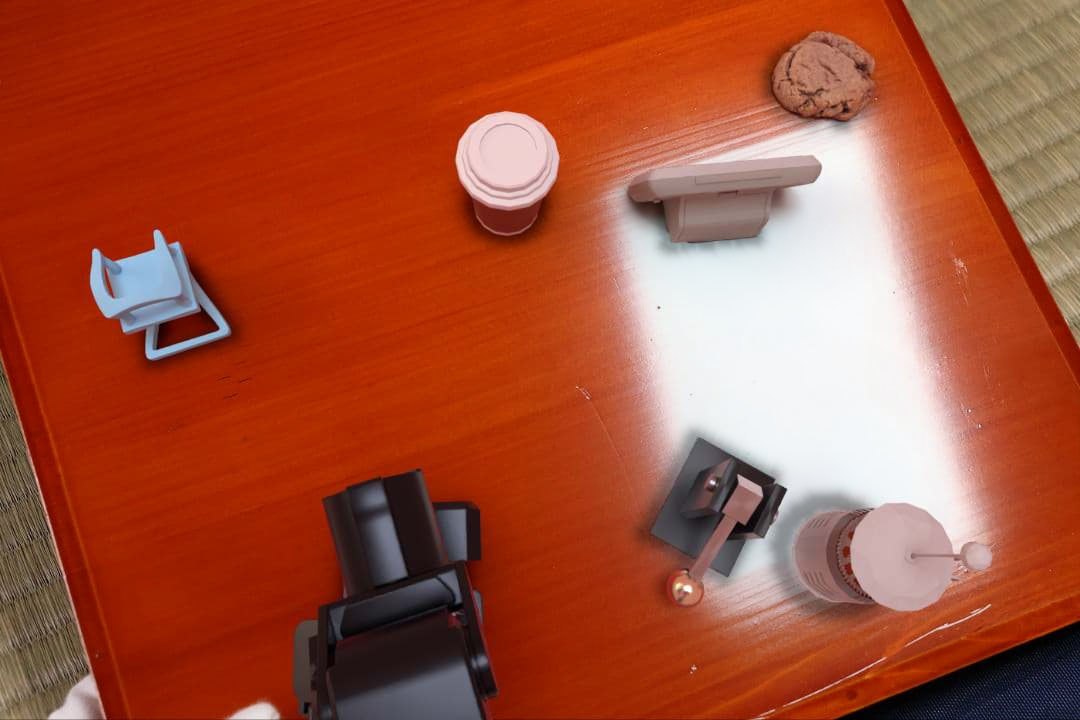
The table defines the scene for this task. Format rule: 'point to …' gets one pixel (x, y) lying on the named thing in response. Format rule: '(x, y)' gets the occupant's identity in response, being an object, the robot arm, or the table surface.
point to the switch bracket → (713, 505)
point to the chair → (153, 294)
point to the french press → (880, 556)
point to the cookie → (824, 77)
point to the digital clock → (721, 195)
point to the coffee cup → (507, 169)
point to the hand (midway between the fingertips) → (444, 638)
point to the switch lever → (714, 543)
